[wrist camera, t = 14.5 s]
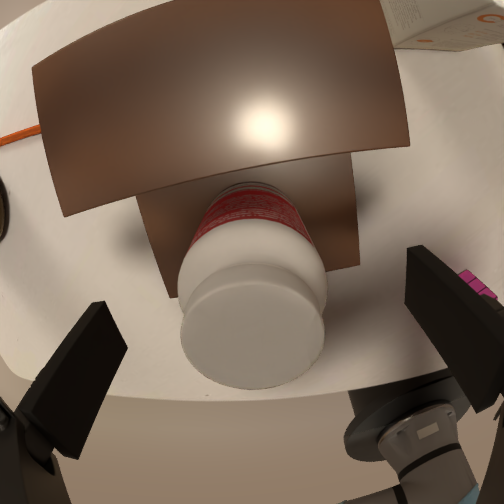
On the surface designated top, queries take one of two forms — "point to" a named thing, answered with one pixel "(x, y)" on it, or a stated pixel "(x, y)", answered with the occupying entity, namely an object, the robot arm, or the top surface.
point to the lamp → (1, 214)
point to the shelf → (223, 114)
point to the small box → (444, 23)
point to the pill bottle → (252, 291)
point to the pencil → (20, 135)
